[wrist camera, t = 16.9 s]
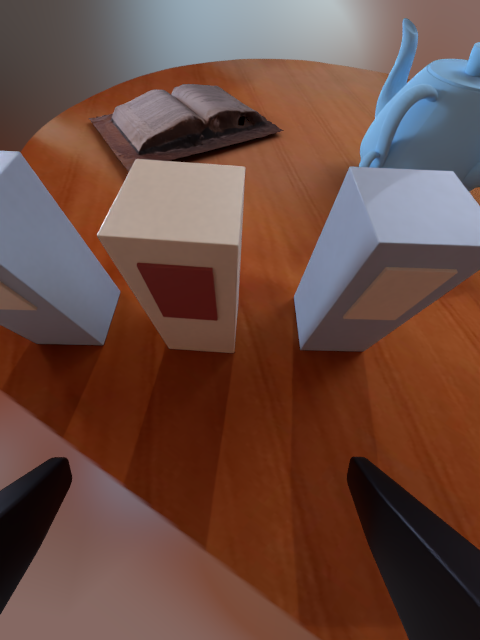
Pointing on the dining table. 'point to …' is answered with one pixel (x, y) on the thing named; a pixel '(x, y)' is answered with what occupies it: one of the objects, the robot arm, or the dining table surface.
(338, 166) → the dining table surface
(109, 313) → the block left
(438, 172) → the block right
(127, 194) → the cream block
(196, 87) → the book
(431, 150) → the teapot
